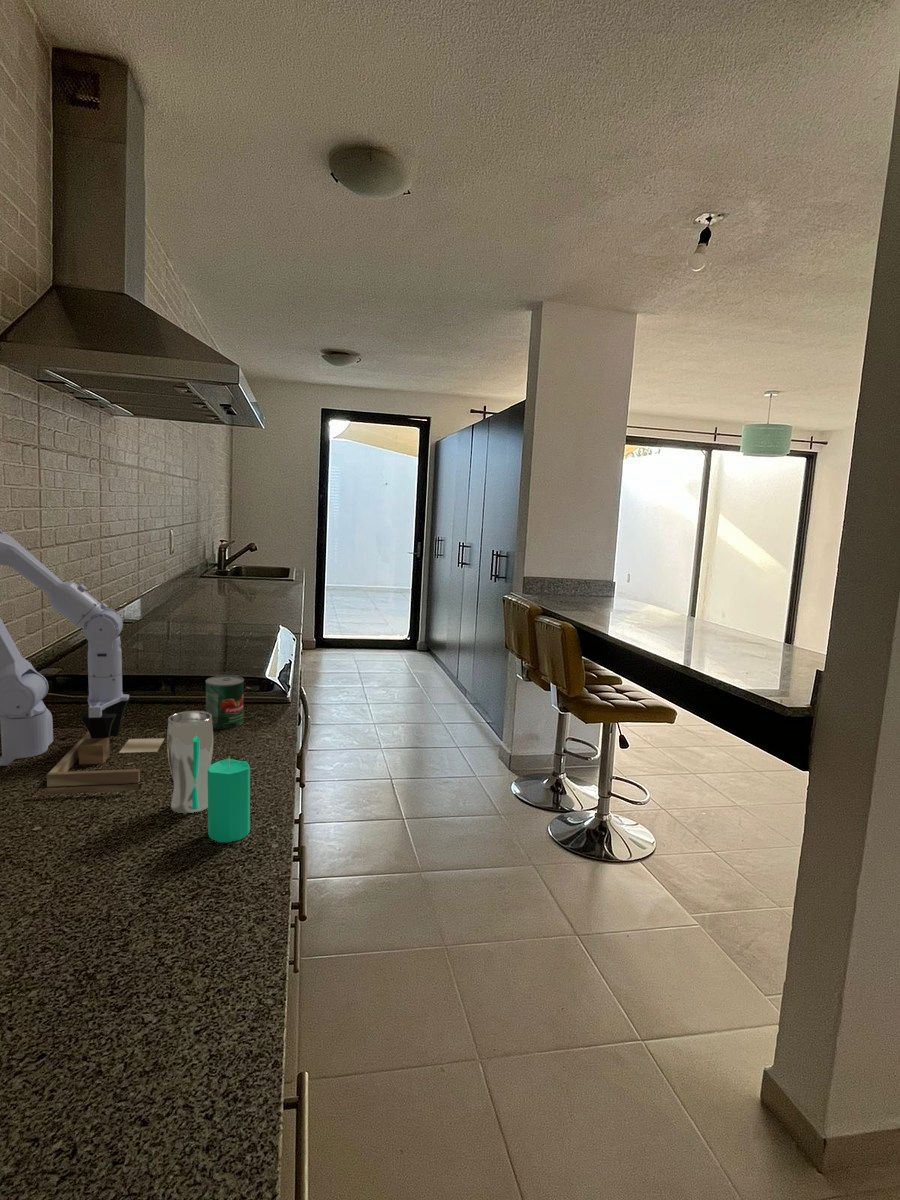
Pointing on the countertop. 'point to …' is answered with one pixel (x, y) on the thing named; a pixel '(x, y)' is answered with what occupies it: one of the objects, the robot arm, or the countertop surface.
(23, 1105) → the countertop surface
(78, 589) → the robot arm
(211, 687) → the canned tomato
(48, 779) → the wooden flat frame
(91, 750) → the block
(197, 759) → the beer glass
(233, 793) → the candle
